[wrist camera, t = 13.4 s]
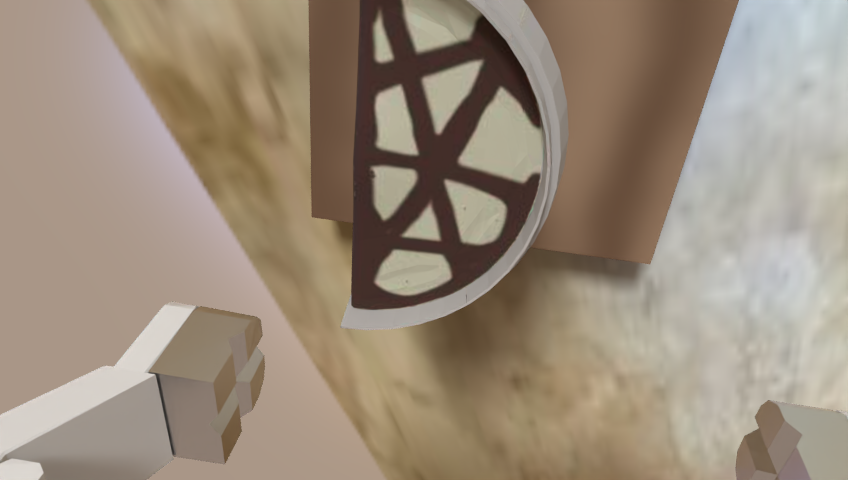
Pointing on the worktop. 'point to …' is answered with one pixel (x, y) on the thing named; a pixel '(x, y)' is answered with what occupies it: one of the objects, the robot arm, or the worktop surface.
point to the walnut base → (587, 112)
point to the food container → (449, 154)
